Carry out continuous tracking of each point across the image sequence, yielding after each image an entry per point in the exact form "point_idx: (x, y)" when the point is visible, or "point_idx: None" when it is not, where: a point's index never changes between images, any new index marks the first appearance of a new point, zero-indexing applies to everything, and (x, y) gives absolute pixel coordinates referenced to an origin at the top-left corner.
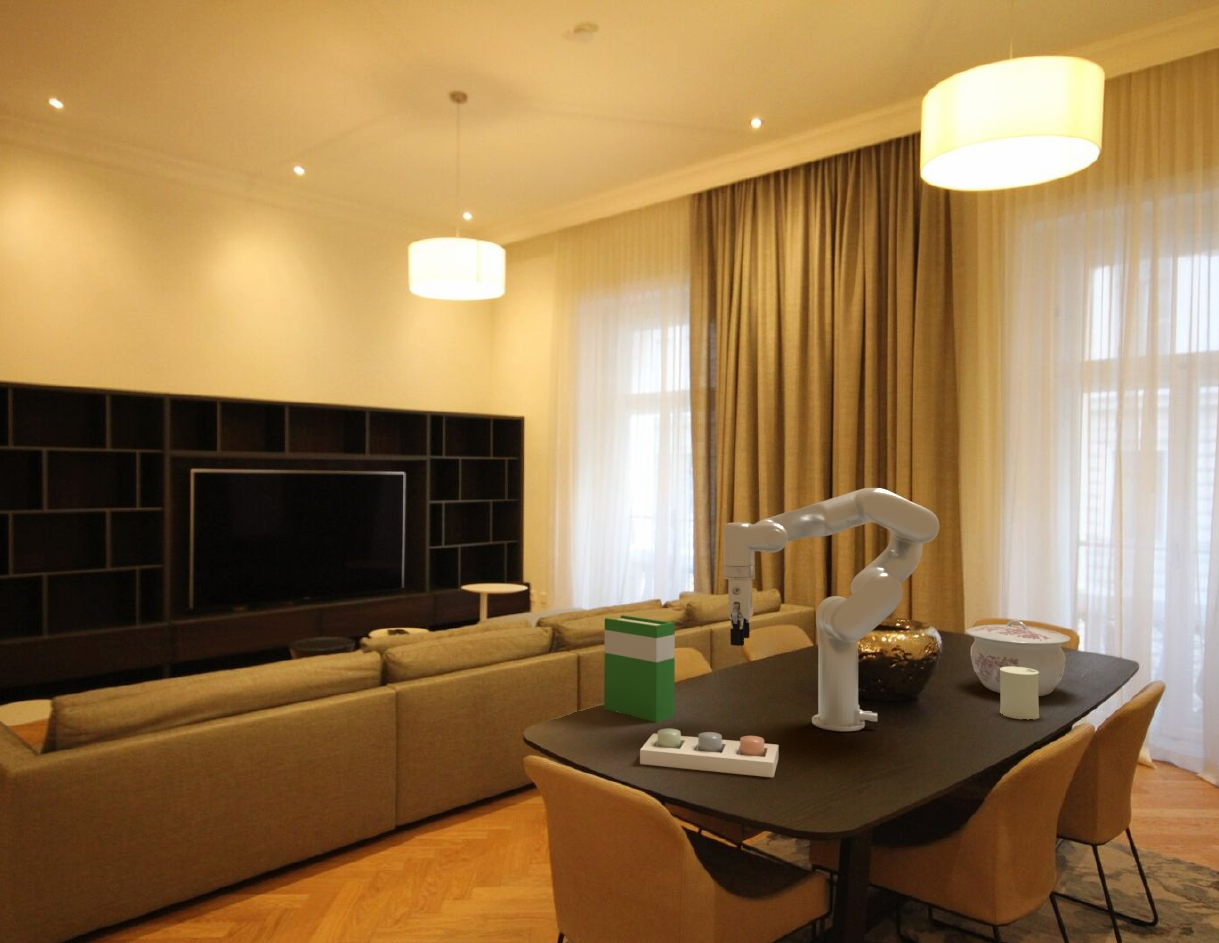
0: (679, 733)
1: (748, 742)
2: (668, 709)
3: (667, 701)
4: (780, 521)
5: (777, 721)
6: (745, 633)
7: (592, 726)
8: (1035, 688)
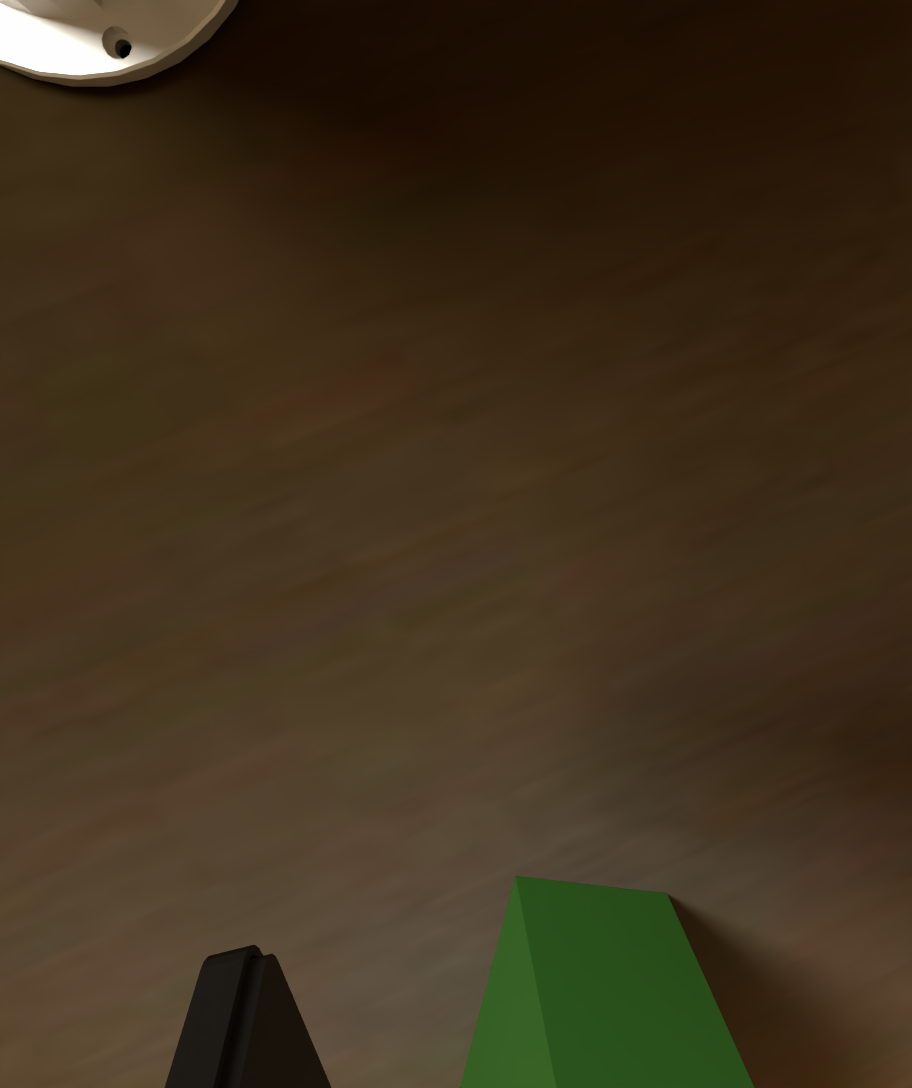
0: None
1: None
2: (579, 919)
3: (598, 961)
4: None
5: (269, 332)
6: (279, 1086)
7: (857, 1064)
8: None
